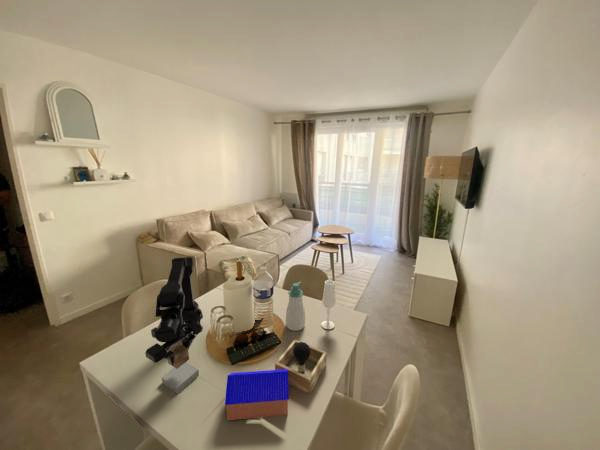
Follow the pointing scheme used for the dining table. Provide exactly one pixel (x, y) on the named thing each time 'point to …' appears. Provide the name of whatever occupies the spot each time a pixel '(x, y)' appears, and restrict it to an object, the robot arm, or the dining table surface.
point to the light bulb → (301, 354)
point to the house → (257, 394)
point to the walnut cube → (179, 355)
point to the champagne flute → (328, 301)
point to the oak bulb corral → (299, 378)
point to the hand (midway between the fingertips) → (178, 359)
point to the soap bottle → (295, 309)
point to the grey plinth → (180, 377)
